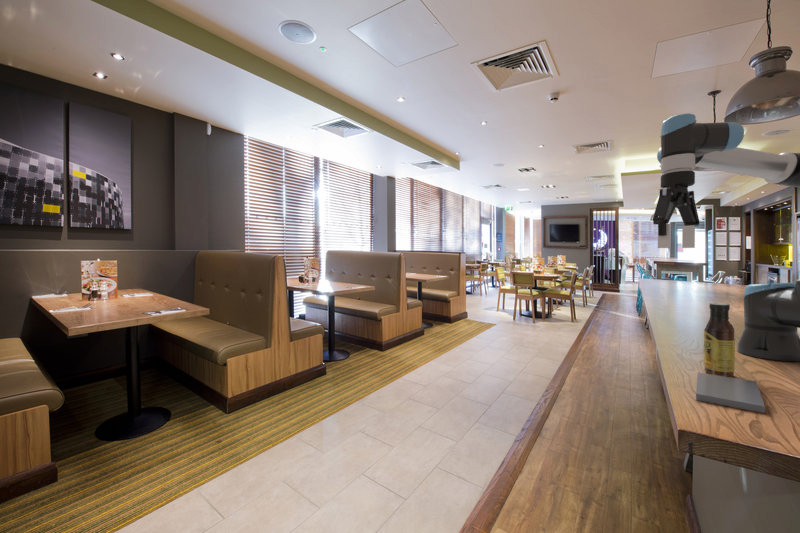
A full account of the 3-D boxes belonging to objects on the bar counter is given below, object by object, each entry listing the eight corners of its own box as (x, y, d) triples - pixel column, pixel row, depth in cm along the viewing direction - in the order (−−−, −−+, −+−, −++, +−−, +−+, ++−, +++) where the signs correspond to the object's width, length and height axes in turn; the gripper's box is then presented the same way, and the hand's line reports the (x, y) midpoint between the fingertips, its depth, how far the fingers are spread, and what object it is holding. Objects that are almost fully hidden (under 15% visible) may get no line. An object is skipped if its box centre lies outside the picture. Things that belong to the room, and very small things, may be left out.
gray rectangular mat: (697, 377, 93) (697, 372, 93) (756, 387, 86) (756, 381, 86) (696, 400, 80) (696, 393, 80) (764, 413, 73) (764, 406, 72)
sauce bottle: (703, 369, 100) (703, 301, 99) (733, 373, 96) (733, 302, 95) (704, 375, 95) (704, 303, 94) (736, 380, 91) (736, 305, 90)
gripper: (683, 179, 106) (682, 248, 107) (638, 171, 95) (637, 248, 95) (714, 174, 99) (713, 247, 100) (669, 164, 88) (669, 247, 89)
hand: (676, 248), depth 98 cm, fingers open, 13 cm apart
